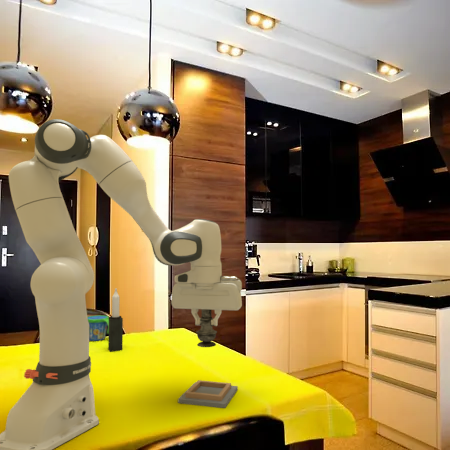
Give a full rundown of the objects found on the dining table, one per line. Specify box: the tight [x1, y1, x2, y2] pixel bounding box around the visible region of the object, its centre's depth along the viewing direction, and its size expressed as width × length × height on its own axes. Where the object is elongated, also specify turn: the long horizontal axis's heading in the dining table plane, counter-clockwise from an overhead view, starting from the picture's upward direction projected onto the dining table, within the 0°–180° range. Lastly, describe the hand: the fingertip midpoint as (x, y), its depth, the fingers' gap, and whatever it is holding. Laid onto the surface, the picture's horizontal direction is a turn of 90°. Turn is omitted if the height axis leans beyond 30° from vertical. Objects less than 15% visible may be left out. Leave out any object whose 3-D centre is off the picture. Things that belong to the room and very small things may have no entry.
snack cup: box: [87, 315, 110, 342], centre depth 172 cm, size 16×10×10 cm
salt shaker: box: [195, 309, 218, 348], centre depth 106 cm, size 6×6×12 cm
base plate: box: [177, 379, 239, 409], centre depth 103 cm, size 13×13×2 cm
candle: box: [107, 288, 124, 353], centre depth 154 cm, size 5×5×25 cm
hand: (206, 325), depth 106 cm, fingers closed on salt shaker, 3 cm apart
